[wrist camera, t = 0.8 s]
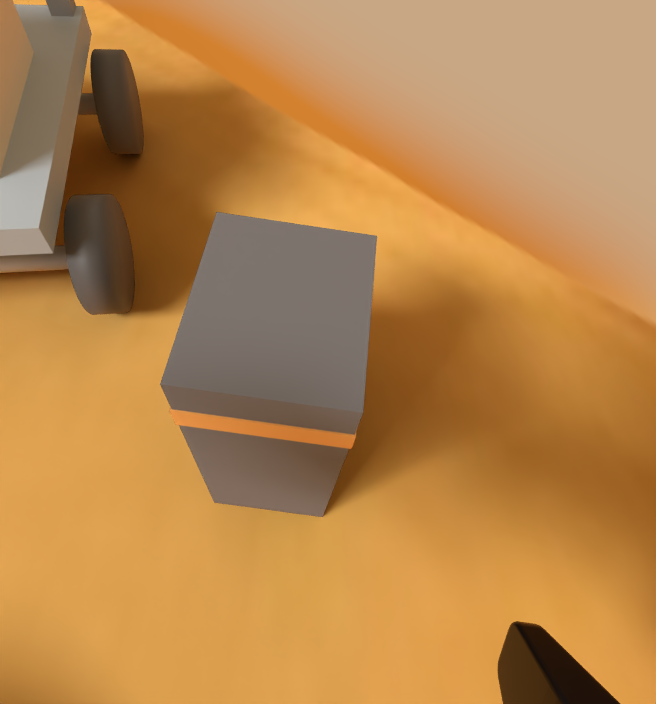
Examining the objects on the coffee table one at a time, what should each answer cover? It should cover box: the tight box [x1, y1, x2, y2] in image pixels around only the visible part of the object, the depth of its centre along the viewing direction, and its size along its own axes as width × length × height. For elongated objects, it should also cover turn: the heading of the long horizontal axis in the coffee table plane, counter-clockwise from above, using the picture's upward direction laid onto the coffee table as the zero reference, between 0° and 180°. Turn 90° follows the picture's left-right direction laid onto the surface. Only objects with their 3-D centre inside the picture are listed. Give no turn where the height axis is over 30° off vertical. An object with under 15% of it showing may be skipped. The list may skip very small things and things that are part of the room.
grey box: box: [160, 212, 377, 517], centre depth 19 cm, size 9×5×12 cm, turn 173°
